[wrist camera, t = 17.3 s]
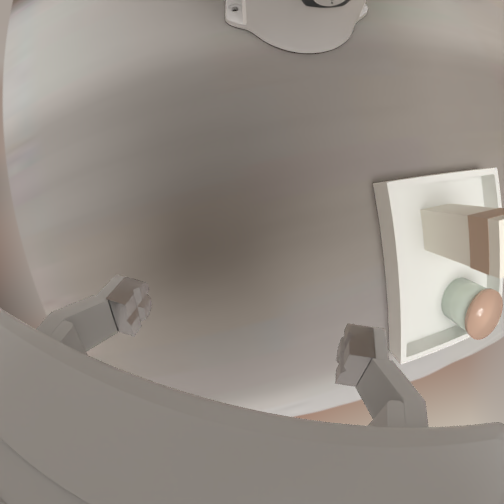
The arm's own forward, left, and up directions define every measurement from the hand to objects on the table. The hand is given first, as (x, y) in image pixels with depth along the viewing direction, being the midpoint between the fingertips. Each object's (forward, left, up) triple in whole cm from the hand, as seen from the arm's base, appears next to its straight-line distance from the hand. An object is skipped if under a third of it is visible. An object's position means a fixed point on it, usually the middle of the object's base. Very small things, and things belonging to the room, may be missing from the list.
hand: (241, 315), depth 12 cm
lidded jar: (+14, +26, -21) cm, 36 cm away
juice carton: (+3, +23, -21) cm, 32 cm away
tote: (+8, +24, -22) cm, 34 cm away
